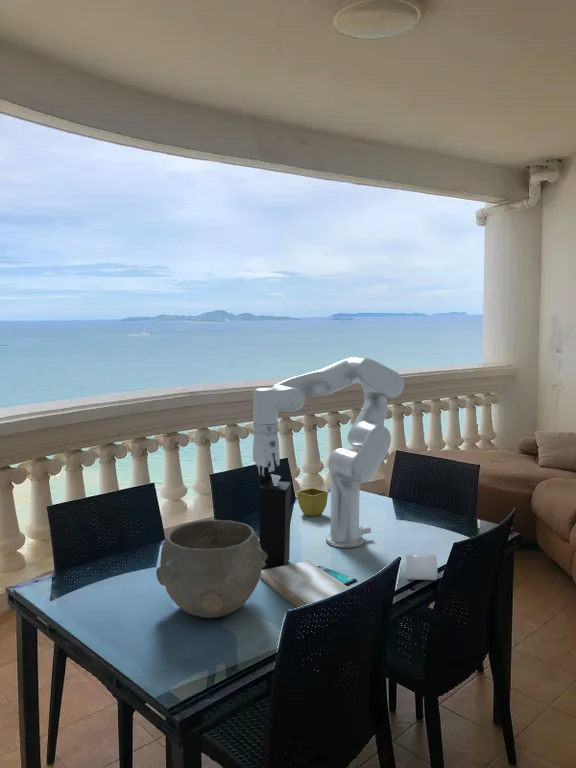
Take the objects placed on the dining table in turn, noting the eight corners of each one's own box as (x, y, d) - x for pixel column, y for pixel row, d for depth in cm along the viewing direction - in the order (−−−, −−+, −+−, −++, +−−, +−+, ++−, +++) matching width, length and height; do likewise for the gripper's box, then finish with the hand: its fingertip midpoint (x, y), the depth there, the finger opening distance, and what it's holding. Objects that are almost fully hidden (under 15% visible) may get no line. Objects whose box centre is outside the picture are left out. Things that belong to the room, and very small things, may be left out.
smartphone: (319, 565, 185) (358, 579, 174) (319, 567, 185) (358, 582, 174) (302, 571, 180) (342, 586, 169) (302, 574, 180) (342, 589, 169)
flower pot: (296, 514, 236) (296, 491, 235) (312, 509, 242) (312, 487, 241) (312, 519, 230) (312, 496, 229) (328, 514, 236) (328, 491, 235)
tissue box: (284, 571, 181) (286, 479, 177) (258, 568, 183) (259, 477, 179) (289, 559, 189) (291, 471, 185) (264, 557, 190) (265, 469, 186)
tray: (307, 567, 184) (307, 559, 184) (362, 604, 160) (362, 595, 159) (259, 577, 176) (259, 569, 176) (309, 617, 152) (309, 608, 152)
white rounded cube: (434, 582, 177) (406, 581, 177) (432, 557, 180) (405, 557, 181) (438, 577, 171) (408, 576, 171) (436, 552, 174) (407, 551, 175)
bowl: (256, 640, 141) (255, 555, 139) (138, 629, 146) (137, 547, 144) (278, 590, 168) (278, 518, 166) (178, 582, 173) (177, 513, 171)
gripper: (287, 431, 182) (286, 492, 184) (265, 424, 195) (265, 481, 197) (265, 433, 179) (264, 495, 180) (244, 425, 192) (243, 483, 194)
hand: (264, 487), depth 189 cm, fingers closed
